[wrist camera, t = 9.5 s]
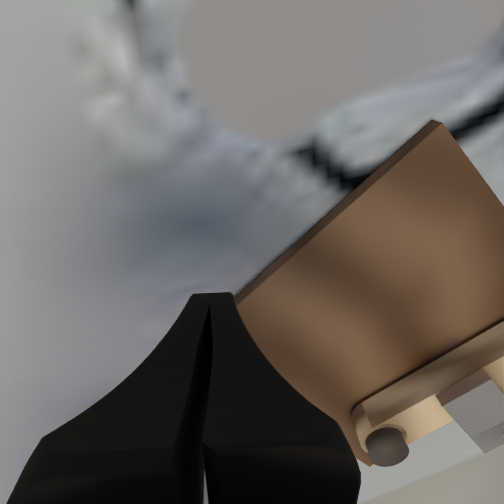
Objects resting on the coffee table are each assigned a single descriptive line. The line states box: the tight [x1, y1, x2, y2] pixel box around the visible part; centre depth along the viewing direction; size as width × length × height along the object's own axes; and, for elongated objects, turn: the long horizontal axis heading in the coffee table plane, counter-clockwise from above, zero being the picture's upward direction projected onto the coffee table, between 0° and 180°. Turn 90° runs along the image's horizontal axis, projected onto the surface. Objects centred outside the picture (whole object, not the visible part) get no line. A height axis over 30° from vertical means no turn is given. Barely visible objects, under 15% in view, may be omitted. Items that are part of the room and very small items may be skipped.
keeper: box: [435, 368, 504, 453], centre depth 23 cm, size 3×6×4 cm, turn 41°
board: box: [234, 120, 504, 467], centre depth 24 cm, size 18×18×1 cm
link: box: [351, 321, 504, 467], centre depth 23 cm, size 14×3×3 cm, turn 129°
